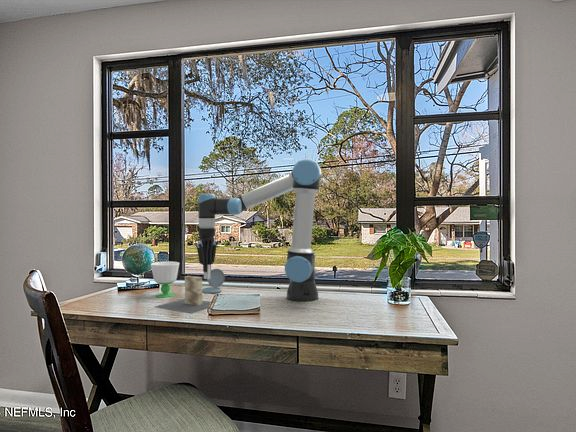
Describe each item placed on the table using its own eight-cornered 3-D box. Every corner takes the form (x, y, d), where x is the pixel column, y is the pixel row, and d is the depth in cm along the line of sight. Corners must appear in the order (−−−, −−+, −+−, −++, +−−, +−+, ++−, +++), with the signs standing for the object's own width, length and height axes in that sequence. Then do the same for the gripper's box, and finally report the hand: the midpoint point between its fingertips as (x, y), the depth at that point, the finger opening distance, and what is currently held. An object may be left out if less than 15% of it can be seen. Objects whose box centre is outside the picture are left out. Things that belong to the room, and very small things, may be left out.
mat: (223, 305, 193) (223, 303, 193) (191, 315, 175) (191, 313, 175) (186, 299, 204) (186, 298, 204) (153, 308, 187) (153, 306, 187)
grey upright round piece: (226, 269, 227) (214, 273, 212) (226, 289, 227) (215, 295, 213) (208, 268, 229) (195, 272, 214) (208, 288, 229) (196, 294, 215)
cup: (152, 299, 204) (151, 266, 203) (149, 293, 216) (149, 262, 216) (181, 297, 209) (181, 264, 208) (177, 291, 221) (177, 260, 221)
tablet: (202, 304, 191) (202, 277, 191) (198, 305, 189) (198, 278, 189) (189, 302, 196) (189, 275, 195) (184, 303, 193) (184, 276, 193)
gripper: (210, 226, 206) (210, 275, 207) (190, 227, 195) (191, 280, 196) (222, 227, 203) (222, 277, 203) (203, 228, 191) (203, 281, 192)
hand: (207, 278), depth 200 cm, fingers closed
